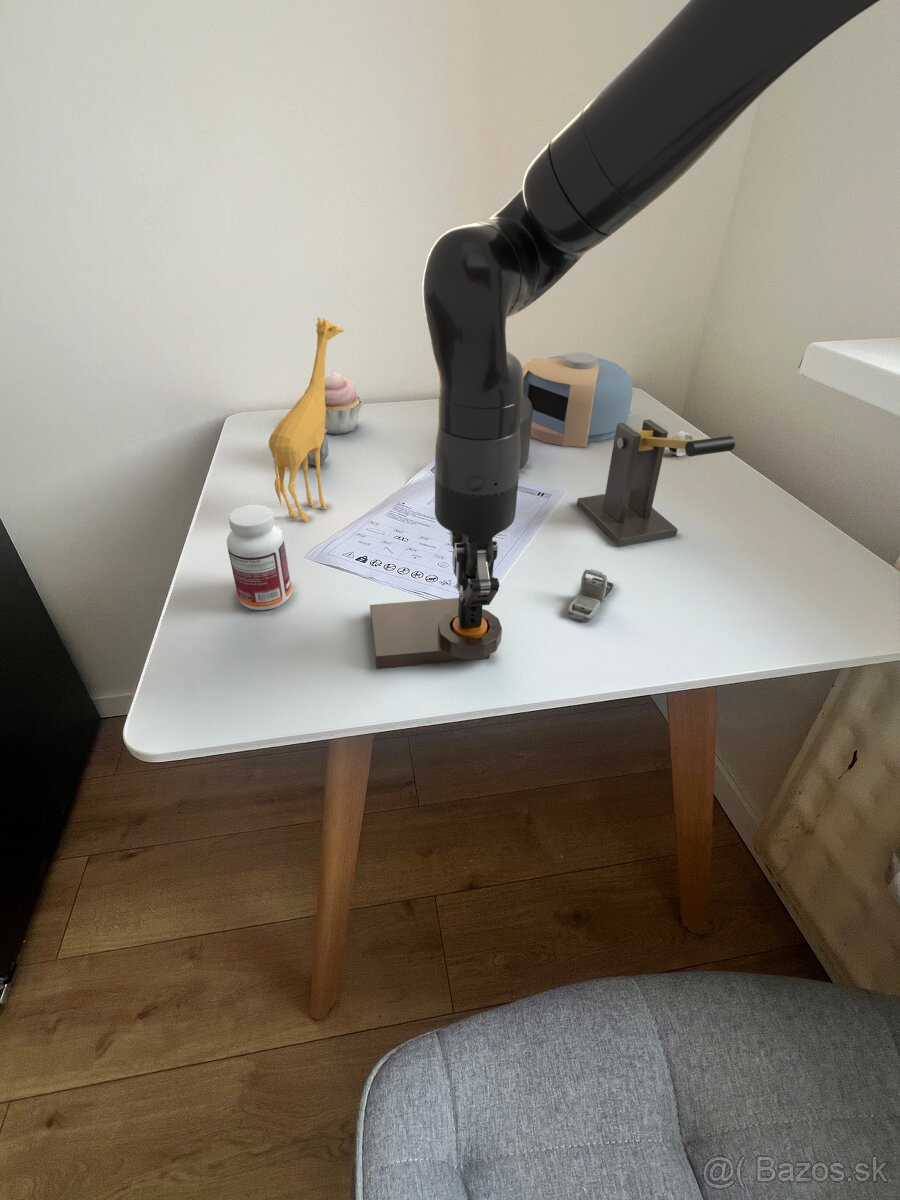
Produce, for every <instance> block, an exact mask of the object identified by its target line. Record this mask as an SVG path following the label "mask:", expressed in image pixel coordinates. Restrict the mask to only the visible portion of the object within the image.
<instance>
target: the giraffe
mask: <svg viewBox="0 0 900 1200" xmlns="http://www.w3.org/2000/svg"><path fill="white" fill-rule="evenodd" d="M315 326H316V335H317V339H316V340H317V341H316V342H317V343H316V350H315V351H316V352H315V357H314V358H315V359H314V363H313V368H312V373H311V377H310V380H309V384H308V386H307V388H306V389H305V391H304V393H303V395H302V396H301V397H300V398H299V400H297V401H296V403H295V404H294V405H293V407H291V408H290V409H289V411H288V412H287V414H286V415H285V416H284V417H283V418H282V419H281V420H280V422H279V423H278V424H277V426H276V427H275V429H274V430H273V431H272V432H271V434H270V436H269V440H268V448H269V451H270V453H271V456H272V458H273V462H274V463H273V464H274V471H275V477H276V478H275V479H274V489H275V493H276V496H277V498H278V501H279V504H280V506H282V498H281V495H282V497H283V498H284V501H285V504H286V506H287V509H288V510H287V511H288V515H289V516H291V517H292V519H295V518H297V517H298V515H299V519H302V522H307V521H308V520H309V518H308V515H306V512H305V511H303V509H302V507H301V505H300V503H299V500H298V496H297V493H296V489H295V480H296V477H297V475H298V472H299V469H300V467H301V465H302V471H303V477H304V483H305V490H306V491H305V493H306V500H307V503H308V506H310V507H312V506H314V505H315V502H314V501H313V498H312V496H311V491H310V485H309V477H308V470H309V464H308V463H307V454H308V452H309V451H312V452H313V453H314V456H315V463H316V466H315V475H316V479H317V486H318V488H317V489H318V497H319V498H318V499H319V501H318V502H319V504H320V509H321V510H327V506H326V504H325V499H324V495H323V488H322V480H321V476H322V475H321V473H322V469H321V465H320V449H321V445H322V442H323V439H324V432H325V416H326V405H325V377H326V355H327V349H328V341H329V340H331V339H332V338H335V337H336V336H337V335H339V334H340V333H343V332H344V331H345V329H344V328H343V327H341V326H338V325H336V324H334V323H332V322H331V321H328V320H327V319H325V318H324V317H322V319H321V318H320V317H319V316H318V317H317V322H315ZM287 469H288V471H290V473H289V481H288V484H287V485H288V486H287V488H288V492H289V493H290V495H291V498H292V499H293V500H294V503H295V505H296V506H295V507H296V508H297V511H298V513H297V512H296V511H295V509H294V508H293V507H292V506H291V503H290V500H289V499H288V496H287V491H286V487H285V476H286V470H287Z"/></svg>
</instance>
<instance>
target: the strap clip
mask: <svg viewBox="0 0 900 1200" xmlns="http://www.w3.org/2000/svg"><path fill="white" fill-rule="evenodd" d="M587 575H590V576H593V577H592V578H590V577H586V576H587ZM580 582H581V583H580V584H581V585H580V593H581V594H578V595H576V597H575V598H574V599H573V600H572V601H571V602H570V604H569V606H568V609H567V615H568V616H570V617H572V618H575V619H577V620H581V621H585V622H591V621H592V620H593V619H595V617H596V615H597V613H598V612H599V609H600V606H601V602H604V601H605V600H607V598H608V597H609V596H610V594H611V593H612V591H613V588H614V583H612V582H610V581H608V577H607V575H606V574H604V573H603V571H599V570H596V569H593V568H590V569H585V570H584V571H583V572H582V575H581V581H580Z"/></svg>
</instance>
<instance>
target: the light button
mask: <svg viewBox="0 0 900 1200" xmlns="http://www.w3.org/2000/svg"><path fill="white" fill-rule="evenodd" d="M453 633H455V634H456V635H457V636H459V637H463V638H467V639H472V638H480V637H482V636H484V635H486V634H487V622H486V621H485V619H484V618H482V623H481V626H480V627H478V628H467V629H463V628H461V626H460V622H459V619H458V617H457V618H456V619H455V620H454V621H453Z"/></svg>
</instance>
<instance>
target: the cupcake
mask: <svg viewBox="0 0 900 1200" xmlns="http://www.w3.org/2000/svg"><path fill="white" fill-rule="evenodd" d="M364 402H365V401H364V400H362V397H361V396H358V393H357V391H356V387H355V384H354V383H353V382H352V381H350V380H349V379H348V378H345V377H343V376H342V375H341V374H339V373H338V372H336V371H334V370H331V372H330V373H329V374H328V375H327V376H325V405H326V416H325V428H326V429H327V432H326V434H331V435H341V434H347V433H351V432H352V431H354V430H355V429H356V427H357V425H358V424H357V422H358V418H359V414H360V410H361V408H362V407H363V405H364Z"/></svg>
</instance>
